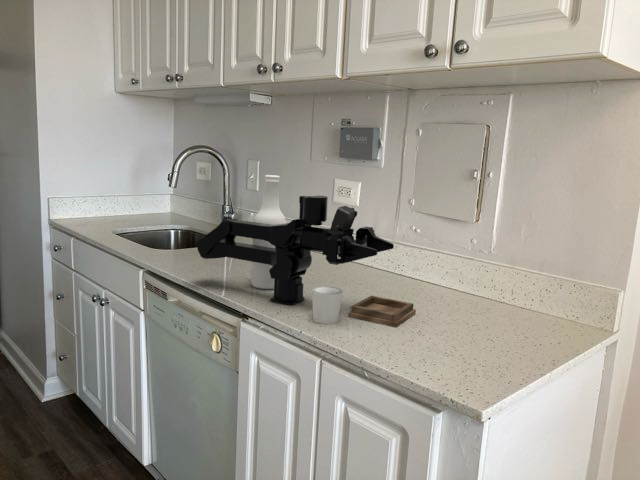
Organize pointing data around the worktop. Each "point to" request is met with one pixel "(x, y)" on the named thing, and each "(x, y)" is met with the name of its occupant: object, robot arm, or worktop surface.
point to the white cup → (326, 304)
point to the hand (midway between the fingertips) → (385, 249)
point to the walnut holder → (382, 311)
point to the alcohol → (267, 216)
